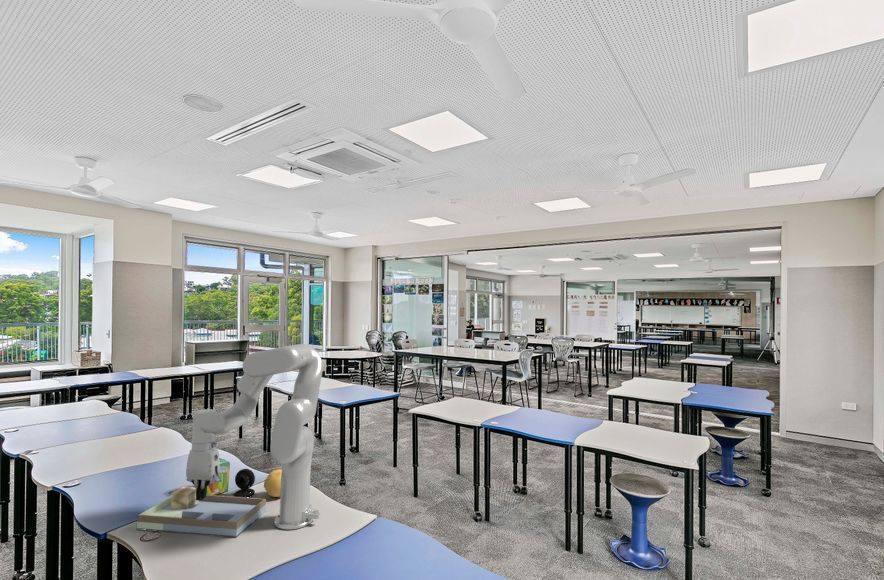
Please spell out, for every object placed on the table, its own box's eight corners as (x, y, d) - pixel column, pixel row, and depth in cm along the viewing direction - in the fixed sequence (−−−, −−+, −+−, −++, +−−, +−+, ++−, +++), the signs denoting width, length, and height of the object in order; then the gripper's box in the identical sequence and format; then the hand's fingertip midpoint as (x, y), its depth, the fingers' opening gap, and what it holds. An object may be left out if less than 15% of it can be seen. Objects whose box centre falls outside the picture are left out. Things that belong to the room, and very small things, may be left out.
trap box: (265, 511, 153) (265, 498, 154) (236, 537, 135) (237, 522, 136) (176, 505, 157) (177, 492, 157) (136, 529, 139) (137, 515, 139)
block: (198, 501, 154) (199, 487, 155) (186, 509, 148) (187, 494, 149) (182, 500, 155) (183, 486, 155) (170, 508, 149) (171, 493, 149)
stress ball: (275, 492, 172) (256, 480, 167) (293, 472, 175) (275, 459, 170) (280, 506, 163) (260, 494, 159) (299, 484, 166) (280, 472, 162)
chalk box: (205, 499, 163) (207, 459, 164) (194, 492, 168) (196, 453, 169) (229, 491, 170) (231, 453, 171) (218, 485, 176) (220, 448, 176)
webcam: (228, 498, 164) (230, 471, 164) (240, 490, 171) (241, 465, 172) (248, 500, 163) (249, 473, 163) (258, 492, 170) (260, 466, 171)
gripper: (229, 443, 155) (227, 495, 154) (191, 441, 157) (188, 493, 156) (217, 450, 148) (214, 504, 147) (176, 447, 149) (173, 502, 148)
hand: (201, 498), depth 151 cm, fingers closed
